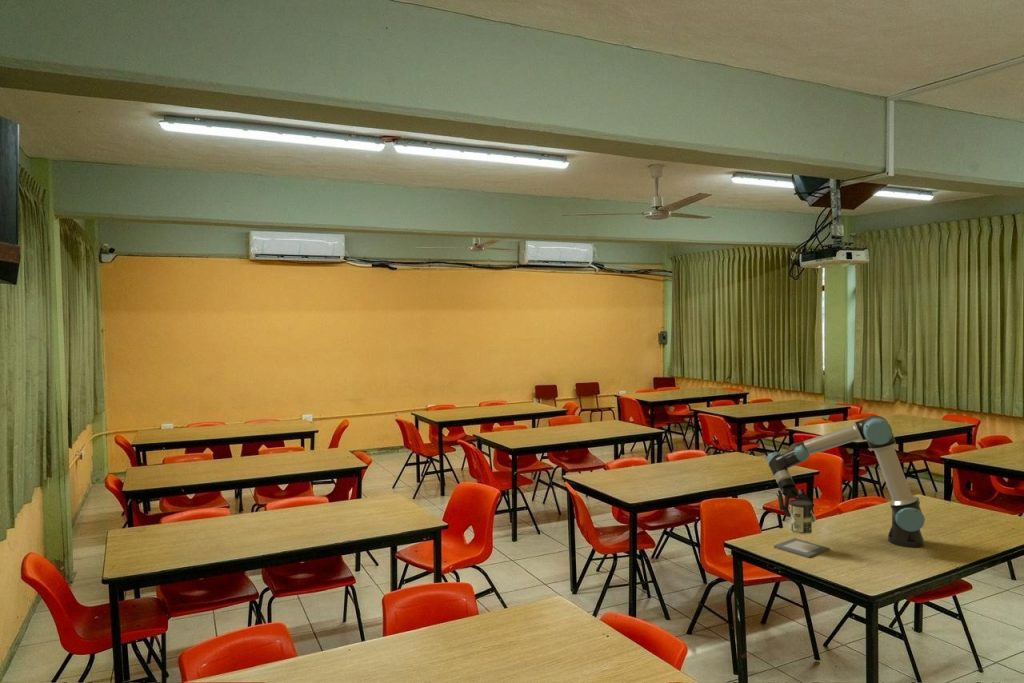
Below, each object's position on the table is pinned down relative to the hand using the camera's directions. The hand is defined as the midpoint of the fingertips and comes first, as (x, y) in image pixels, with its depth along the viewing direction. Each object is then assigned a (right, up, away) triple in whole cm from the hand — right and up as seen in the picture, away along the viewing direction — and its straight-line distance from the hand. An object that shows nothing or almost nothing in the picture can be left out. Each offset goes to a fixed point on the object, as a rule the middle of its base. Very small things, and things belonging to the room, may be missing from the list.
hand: (804, 521), depth 316 cm
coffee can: (0, -6, +3) cm, 6 cm away
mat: (0, -14, +3) cm, 14 cm away
